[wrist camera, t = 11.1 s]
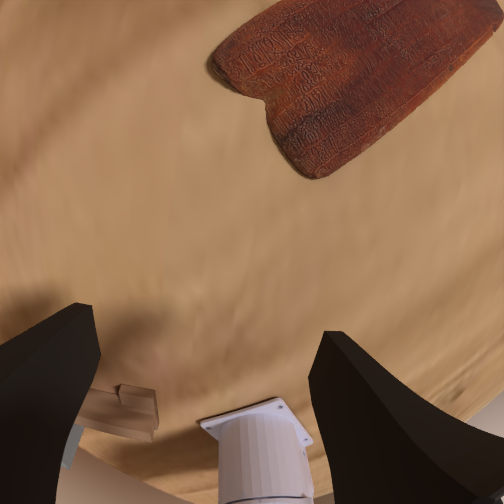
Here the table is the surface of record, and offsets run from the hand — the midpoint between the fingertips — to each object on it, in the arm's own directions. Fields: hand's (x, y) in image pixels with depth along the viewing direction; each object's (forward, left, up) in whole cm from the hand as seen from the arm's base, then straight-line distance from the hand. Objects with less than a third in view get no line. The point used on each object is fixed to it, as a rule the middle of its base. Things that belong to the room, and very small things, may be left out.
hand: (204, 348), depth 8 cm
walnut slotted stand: (-6, +20, -9) cm, 23 cm away
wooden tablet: (+9, -18, -10) cm, 22 cm away
